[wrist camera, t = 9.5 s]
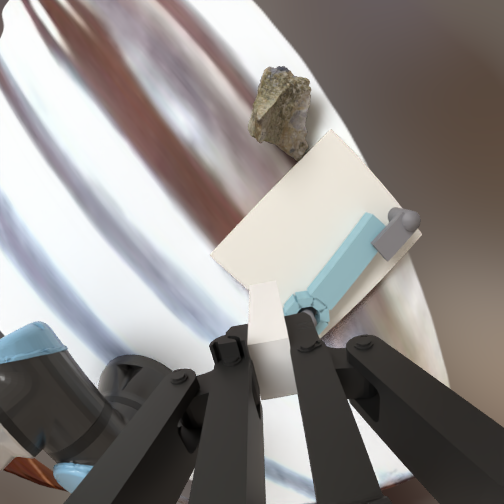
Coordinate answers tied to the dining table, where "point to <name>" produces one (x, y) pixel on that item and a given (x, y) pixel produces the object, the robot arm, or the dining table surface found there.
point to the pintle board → (317, 227)
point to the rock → (281, 111)
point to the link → (338, 272)
